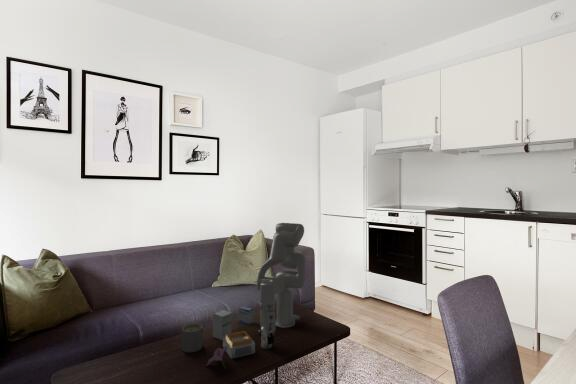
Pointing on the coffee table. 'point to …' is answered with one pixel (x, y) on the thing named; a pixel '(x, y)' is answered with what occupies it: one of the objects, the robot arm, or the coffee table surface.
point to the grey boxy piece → (238, 344)
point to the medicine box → (245, 315)
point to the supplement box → (222, 324)
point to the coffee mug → (192, 337)
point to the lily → (218, 355)
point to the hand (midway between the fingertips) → (266, 339)
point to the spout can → (264, 339)
